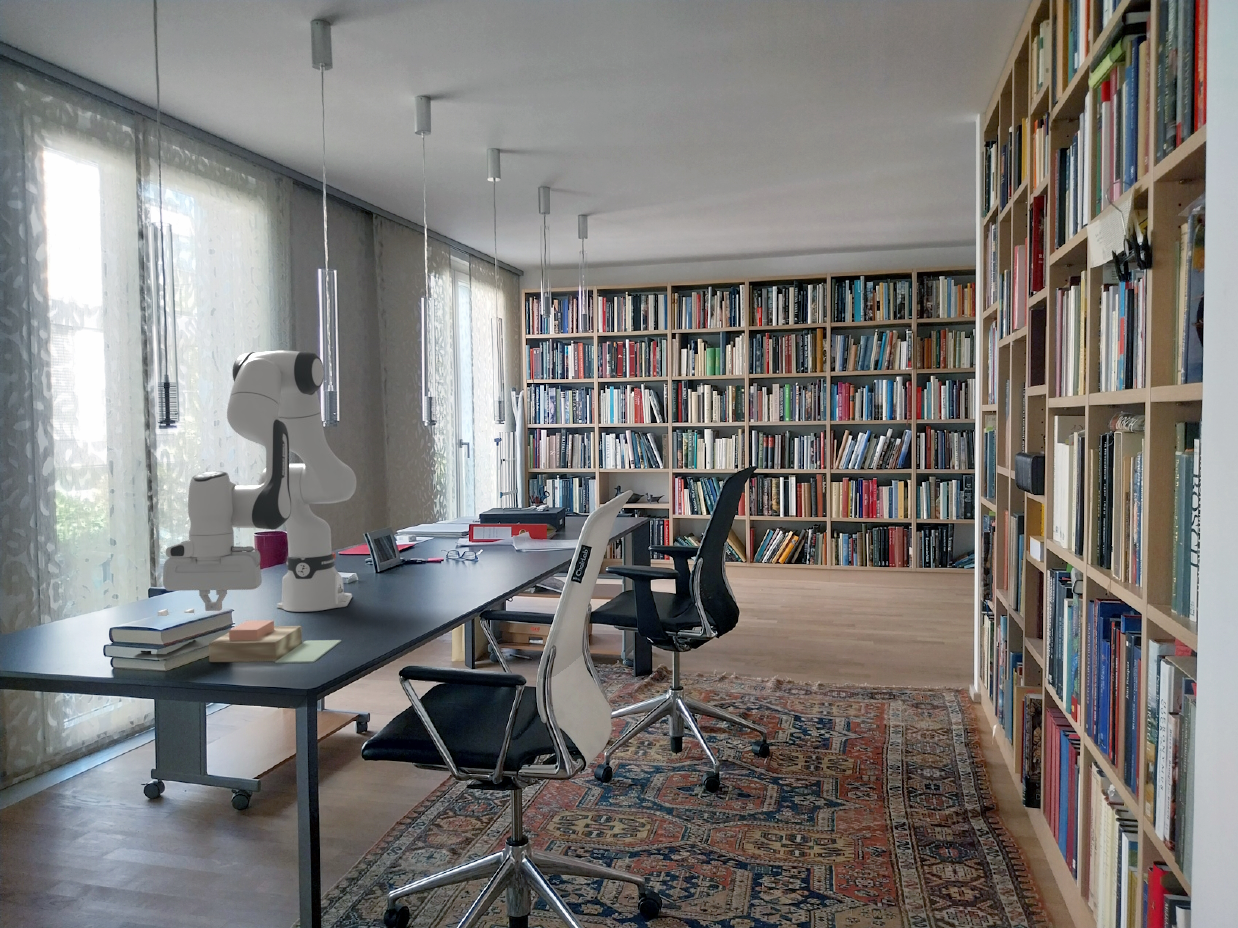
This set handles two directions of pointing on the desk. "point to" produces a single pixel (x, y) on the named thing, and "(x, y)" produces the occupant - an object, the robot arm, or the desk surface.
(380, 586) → the desk surface
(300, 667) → the desk surface
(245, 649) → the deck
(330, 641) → the mat
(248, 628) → the terracotta brick
